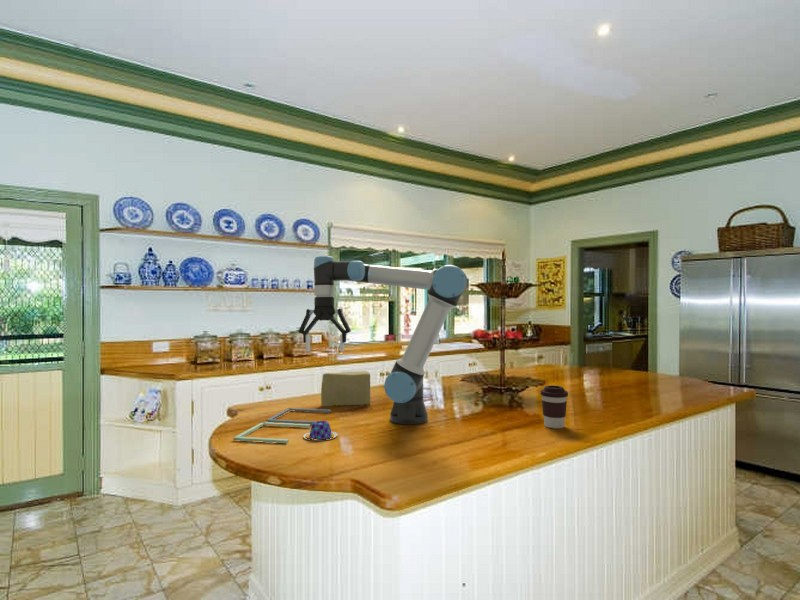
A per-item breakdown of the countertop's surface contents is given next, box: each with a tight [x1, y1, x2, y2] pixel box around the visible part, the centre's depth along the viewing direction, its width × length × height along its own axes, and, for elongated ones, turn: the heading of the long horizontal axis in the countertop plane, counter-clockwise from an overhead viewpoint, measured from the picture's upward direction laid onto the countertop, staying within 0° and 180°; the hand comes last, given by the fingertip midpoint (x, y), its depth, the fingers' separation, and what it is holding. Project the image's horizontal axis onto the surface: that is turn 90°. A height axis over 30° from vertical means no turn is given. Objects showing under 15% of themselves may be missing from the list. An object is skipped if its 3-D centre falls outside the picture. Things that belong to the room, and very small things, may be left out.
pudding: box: [302, 420, 339, 441], centre depth 164 cm, size 12×12×5 cm
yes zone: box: [232, 421, 311, 444], centre depth 167 cm, size 20×21×1 cm
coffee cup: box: [540, 385, 569, 430], centre depth 176 cm, size 10×10×15 cm
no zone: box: [265, 407, 332, 426], centre depth 191 cm, size 20×21×1 cm
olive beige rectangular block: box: [320, 370, 371, 407], centre depth 215 cm, size 22×10×15 cm, turn 106°
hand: (324, 351), depth 180 cm, fingers open, 13 cm apart
